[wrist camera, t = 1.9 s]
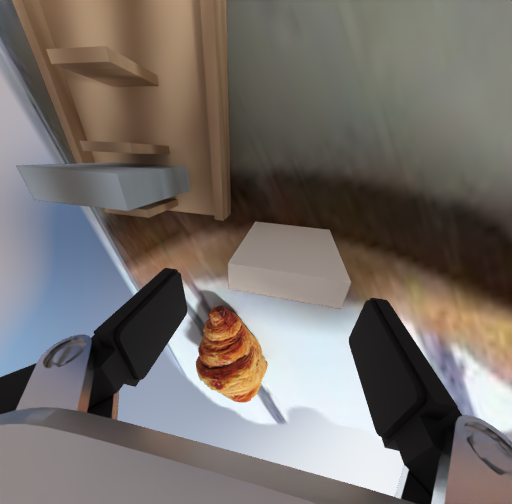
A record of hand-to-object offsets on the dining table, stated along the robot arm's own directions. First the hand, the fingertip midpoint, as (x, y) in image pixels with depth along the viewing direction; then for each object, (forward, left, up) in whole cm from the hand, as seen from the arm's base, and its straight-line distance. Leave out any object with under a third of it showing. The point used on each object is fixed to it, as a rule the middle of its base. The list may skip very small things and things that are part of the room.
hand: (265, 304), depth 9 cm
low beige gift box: (-1, 0, -10) cm, 10 cm away
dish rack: (+12, -9, -10) cm, 18 cm away
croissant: (+5, +20, -10) cm, 23 cm away
